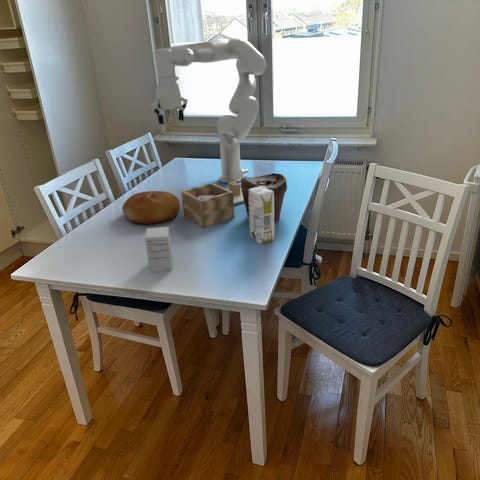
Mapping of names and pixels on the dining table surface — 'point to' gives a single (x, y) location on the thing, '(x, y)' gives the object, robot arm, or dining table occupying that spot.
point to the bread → (151, 207)
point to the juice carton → (261, 214)
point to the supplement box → (159, 249)
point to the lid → (236, 192)
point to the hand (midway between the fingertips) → (171, 122)
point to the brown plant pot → (270, 182)
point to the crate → (208, 204)
